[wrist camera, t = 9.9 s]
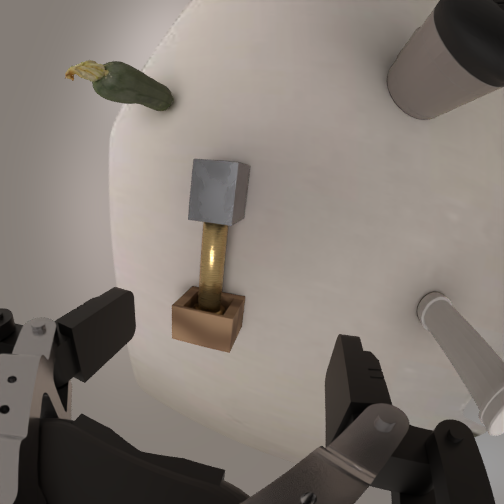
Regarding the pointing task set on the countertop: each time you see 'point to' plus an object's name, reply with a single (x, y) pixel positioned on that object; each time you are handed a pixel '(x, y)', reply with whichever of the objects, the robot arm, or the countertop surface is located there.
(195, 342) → the socket
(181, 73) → the countertop surface
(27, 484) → the robot arm
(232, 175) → the sleeve
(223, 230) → the tube
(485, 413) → the pipe
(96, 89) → the vegetable
